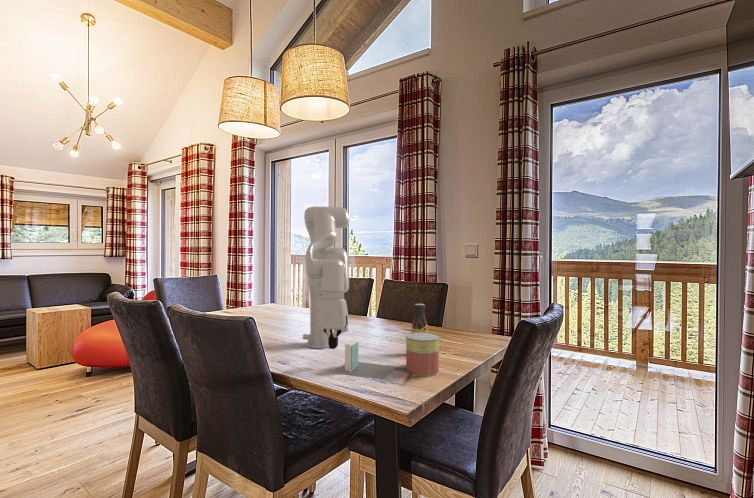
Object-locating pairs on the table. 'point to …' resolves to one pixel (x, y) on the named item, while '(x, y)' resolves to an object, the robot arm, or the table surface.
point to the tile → (351, 355)
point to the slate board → (367, 370)
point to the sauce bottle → (419, 320)
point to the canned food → (422, 354)
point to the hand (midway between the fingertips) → (333, 347)
